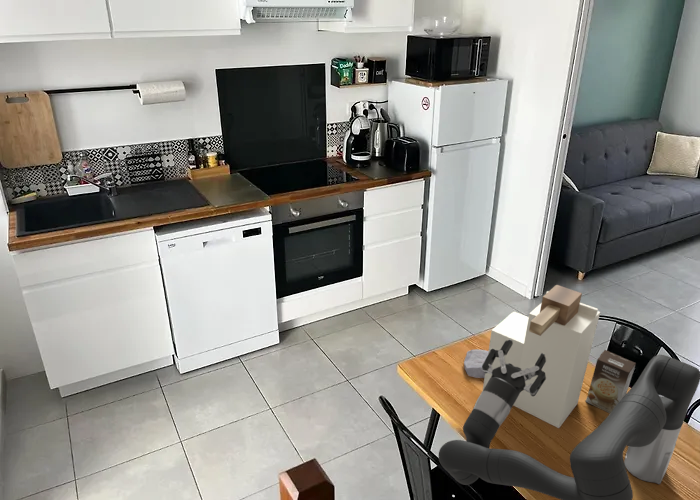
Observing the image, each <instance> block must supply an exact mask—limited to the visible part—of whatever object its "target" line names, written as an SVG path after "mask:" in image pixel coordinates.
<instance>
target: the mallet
mask: <svg viewBox="0 0 700 500" xmlns="http://www.w3.org/2000/svg"><path fill="white" fill-rule="evenodd" d="M548 291H549V292H548V293H547V294H546V293H545V294H544V295H543V296H542V300H541V303H540V304H541V309H540V313H539V314H538V315H537V316H536V317H535V318H534V319H533V320H532V321H531V323H530V328H529V331H530V332H532V333H535V334H537V335H539V336H541V335H542V334H543V333H544V332H545V331H546V330H547V329H548V328H549V327H550V326H551V325H552V324H553V323H554V322H556V323H558V324H561V325H564V326H565V325H566V324H567V323H568V322H569V321H570V320H571V319H572V318H573V317H574V316H575V315H576V314H577V313H578V309H579V305H580V303H581V300H582V295H583V294H582V292H579V291H576V290H575V289H574V290H573V289H570V288H568V287H564V286H562V285H559V284H556V285H554V286H553V287H552V288H551V289H550V290H548Z"/></svg>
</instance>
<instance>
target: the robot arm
mask: <svg viewBox="0 0 700 500" xmlns="http://www.w3.org/2000/svg"><path fill="white" fill-rule="evenodd" d="M512 344H513V342H512V340H510V339H509V340H508V341H507V340H506V341H505V342H504V344H503V346H502V347H501V349H500V350H495V349H491V350H490V352H489V354H488V356H487V358H486V360H485V362H484V363H483V365H482V369H483V372H484V373H490V374H492V376H491V378H490V379H489V381H488V383H487V384H486V386H485V388H484V389H483V388H482V391H481V392H480V395H479V396H478V397H477V400H476V402H475V404H474V406H473V408H472V410H471V411H470V413H469V415H468V417H467V418H466V420H465V421H464V424H463V426H462V431H463V434H464V436H465V438H466V440H461V439H453V440H449V441H446V442H445V443H444V444H442V445H441V447H440V448H439V451H438V461H439V463H440V465H441V467H442V468H443V469H444V470H445V471H446V472H447V473H448V474H449V476H451V477H452V478H453V479H454V480H455V481H456V482H458V483H459V484H460V485H463V486H464V485H465V486H469V485H472V484H474V483H475V482H477V480H478V479H479V478H480V479H481V480H483V481H484V482H486V483H489V484H494V485H502V486H509V487H510V486H511V487H514V488H515V487H517V488H521V489H522V488H523V489H526V490H531V491H535V492H537V493H541V494H543V495H547V496H550V497H552V498H555V499H559V500H633V497H634V495H633V494H634V492H633V489H632V485H631V481H630V479H629V478H630V477H629V474H628V472H629V473H630V474H631V475H632V476H634V477H636V478H637V479H639V480H642V481H643V482H644V481H645V482H648V483H655V484H658V485H661V483H662V481H663V479H664V477H665V475H666V473H667V471H668V467H669V464H670V461H671V459H672V456H673V453H674V451H675V448H676V445H677V441H678V438H679V434H680V432H681V430H682V427H683V424H684V420H685V418H686V416H687V413H688V409H689V407H690V405H691V403H692V401H693V397H694V396H695V394H696V391H697V389H698V387H699V384H700V369H699V368H697V367H696V366H693V365H691V364H689V363H686V362H683V361H681V360H678V359H676V358H674V357H670V356H668V355H664V354H656V355H655V356H653V357H652V358H650V360H649V362H648V363H647V364H646V366H645V367H644V369H643V370H642V372H641V374H640V375H639V376H638V379H637V380H636V382H635V383H634V384H633V386H632V387H630V389H628V390H627V393H626V395H625V396H624V397H623V398H622V399H621V400H620V401H619V403H618V404H617V405H616V406H615V407H614V409H613V410H612V412H611V413H608V415H607V417H606V418H605V419H604V420H603V421H602V422H601V423H600V424H599V425H598V426H597V427H596V428H595V429H594V430H593V431H592V432H590V434H588V435H587V436H586V437H585V438H584V439H582V440H581V441H579V443H578V444H577V445H576V446H575V447H574V448H573V449H572V451H571V452H570V455H569V463H570V468H571V469H570V470H571V472H572V475H573V476H568V475H566V474H562V473H560V472H558V471H556V470H554V469H552V468H551V467H549V466H547V465H545V464H543V463H542V462H540V461H539V460H537V459H536V458H533V457H532V456H530V455H528V454H526V453H523V452H522V451H518V450H512V449H505V448H504V449H502V448H491V443H492V441H493V439H494V437H495V436H496V434H497V432H498V430H499V428H500V427H501V425H502V424H503V423H504V422H505V420H506V419H507V417H508V416H509V414H510V413H511V410H512V409H513V407H514V406H513V405H514V403H515V401H516V399H517V398H518V396H519V394H520V392H521V391H523V390H525V391H527V392H529V393H530V395H531V396H535V395H536V394H537V392H538V390H539V389H540V387H541V386H542V384H543V383H544V381H545V380H546V375H545V372H544V371H542V368H543V366H544V364H545V362H546V357H545V354H543V353H541V355H540V356H539V358H538V360H537V362H536V364H535V366H534V367H532V368H529V369H528V368H527V369H524V370H521V368H519V367H515V366H513V365H512V364H510V363H509V364H506V363H505V358H504V355H507V353H508V351H509V350H510V348H511V346H512ZM496 357H499V361H500V367H498V368H495V369H492V368H493V367H492V364H493V362H494V360H495V358H496ZM537 375H538V377H537V378H536V380H535V381H534V383H533V384H529V385H526V384H525V381H527V380H530V379H531V378H532V377H535V376H537ZM626 447H627V451H626V454H625V457H624V451H625V449H626Z"/></svg>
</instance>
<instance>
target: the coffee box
mask: <svg viewBox="0 0 700 500" xmlns="http://www.w3.org/2000/svg"><path fill="white" fill-rule="evenodd" d="M636 364H637V363H636V362H634V361H632V360H629V359H627V358H624V357H623V356H621V355H618V354H616V353H614V352H611V351H609V350H606V349H604V350H603V351H602V353H601V354H600V355H599V357H598V358H597V360H596V363H595V368H594V370H593V375H592V378H591V381H590V385H589V388H588V392H587V396H586V399H585V402H586V403H587V404H589V405H592V406H593V407H595V408H598V409H600V410H602V411H604V412H606V413H608V414H610V413H611V412H612V410H613V409H614V407H615V406H616V405H617V404H618V403H619V401H620V400H621V399H622V398H623V397H624V396H625V395H626V394H627V393H628V391H629V387H630V383H631V380H632V377H633V374H634V371H635V367H636Z"/></svg>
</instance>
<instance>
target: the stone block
mask: <svg viewBox="0 0 700 500" xmlns="http://www.w3.org/2000/svg"><path fill="white" fill-rule="evenodd" d="M488 351H489V350H485V349H470V350H467V352H466V355H465V357H464V360H463V364H464V370H465V372H466V374H467V376H468V377H473V378H477V379H484V378H485V373H484V372H483V369H482V365H483V363H484V362H485V360H486V358H487V356H488Z"/></svg>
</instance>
